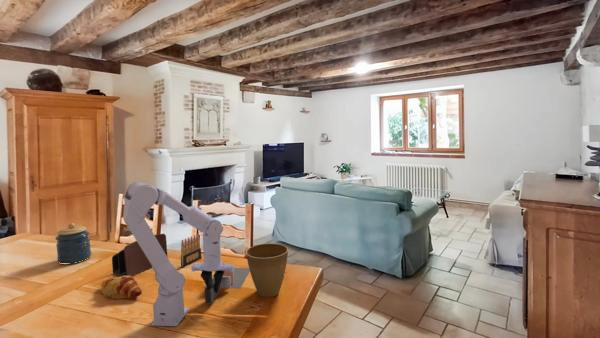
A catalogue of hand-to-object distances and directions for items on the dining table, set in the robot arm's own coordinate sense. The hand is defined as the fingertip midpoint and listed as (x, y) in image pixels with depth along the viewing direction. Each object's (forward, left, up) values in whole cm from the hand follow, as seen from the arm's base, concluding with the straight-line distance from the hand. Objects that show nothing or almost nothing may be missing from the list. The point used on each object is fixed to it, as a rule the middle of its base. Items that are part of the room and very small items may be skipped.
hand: (214, 290), depth 110 cm
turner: (+1, 0, -2) cm, 2 cm away
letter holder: (+26, +42, -4) cm, 49 cm away
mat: (+17, 0, -3) cm, 17 cm away
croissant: (+3, +36, -4) cm, 36 cm away
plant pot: (+6, -18, -4) cm, 19 cm away
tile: (+11, 0, -3) cm, 11 cm away
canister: (+33, +79, -4) cm, 85 cm away
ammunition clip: (+32, +22, -4) cm, 39 cm away
